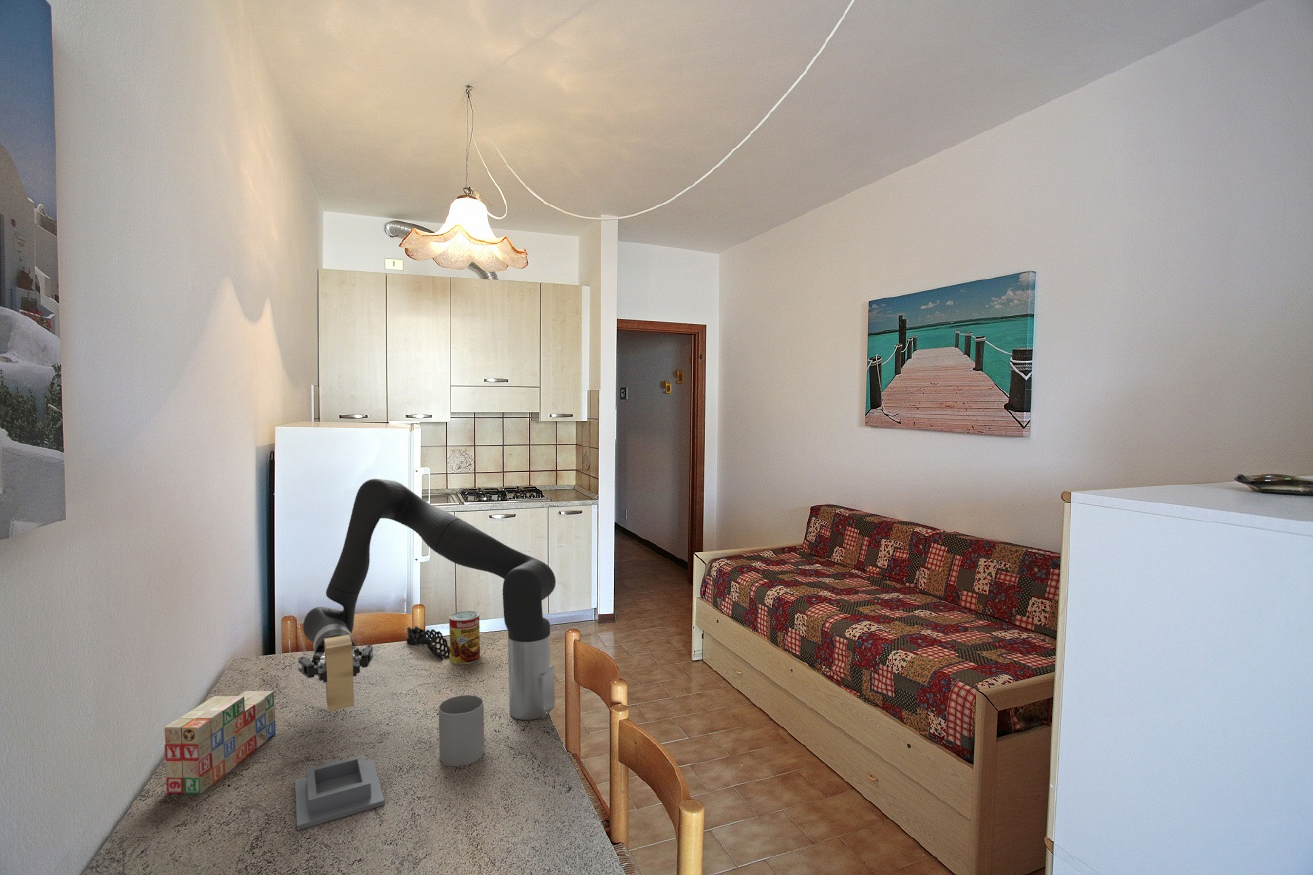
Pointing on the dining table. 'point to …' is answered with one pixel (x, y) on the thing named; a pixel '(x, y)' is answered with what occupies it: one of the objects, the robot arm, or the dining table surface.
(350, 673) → the wooden block
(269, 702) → the stack of blocks
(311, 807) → the grey socket base
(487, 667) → the dining table surface
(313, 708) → the dining table surface
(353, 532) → the robot arm
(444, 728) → the cup
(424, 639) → the decorative element
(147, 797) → the dining table surface
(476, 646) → the canned food
